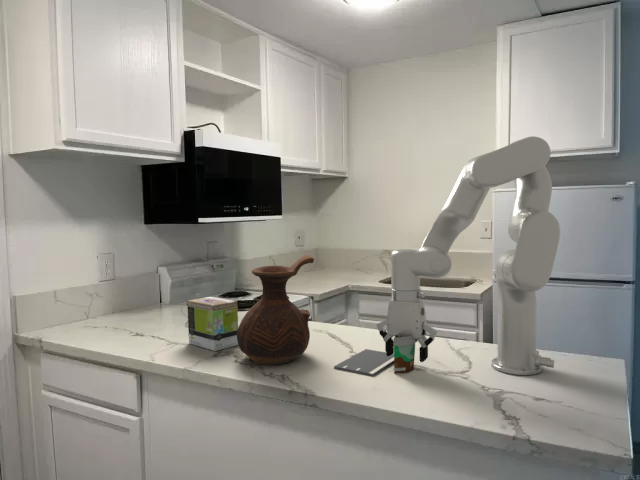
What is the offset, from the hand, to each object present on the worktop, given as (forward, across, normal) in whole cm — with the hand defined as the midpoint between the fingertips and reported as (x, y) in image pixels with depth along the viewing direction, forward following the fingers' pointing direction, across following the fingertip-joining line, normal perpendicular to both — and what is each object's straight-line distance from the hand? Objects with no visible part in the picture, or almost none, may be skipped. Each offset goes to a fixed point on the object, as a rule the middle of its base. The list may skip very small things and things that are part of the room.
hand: (406, 357), depth 131 cm
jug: (+3, +37, +11) cm, 39 cm away
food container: (+3, 0, 0) cm, 3 cm away
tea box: (+3, +64, +10) cm, 65 cm away
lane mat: (+3, +11, +1) cm, 11 cm away
